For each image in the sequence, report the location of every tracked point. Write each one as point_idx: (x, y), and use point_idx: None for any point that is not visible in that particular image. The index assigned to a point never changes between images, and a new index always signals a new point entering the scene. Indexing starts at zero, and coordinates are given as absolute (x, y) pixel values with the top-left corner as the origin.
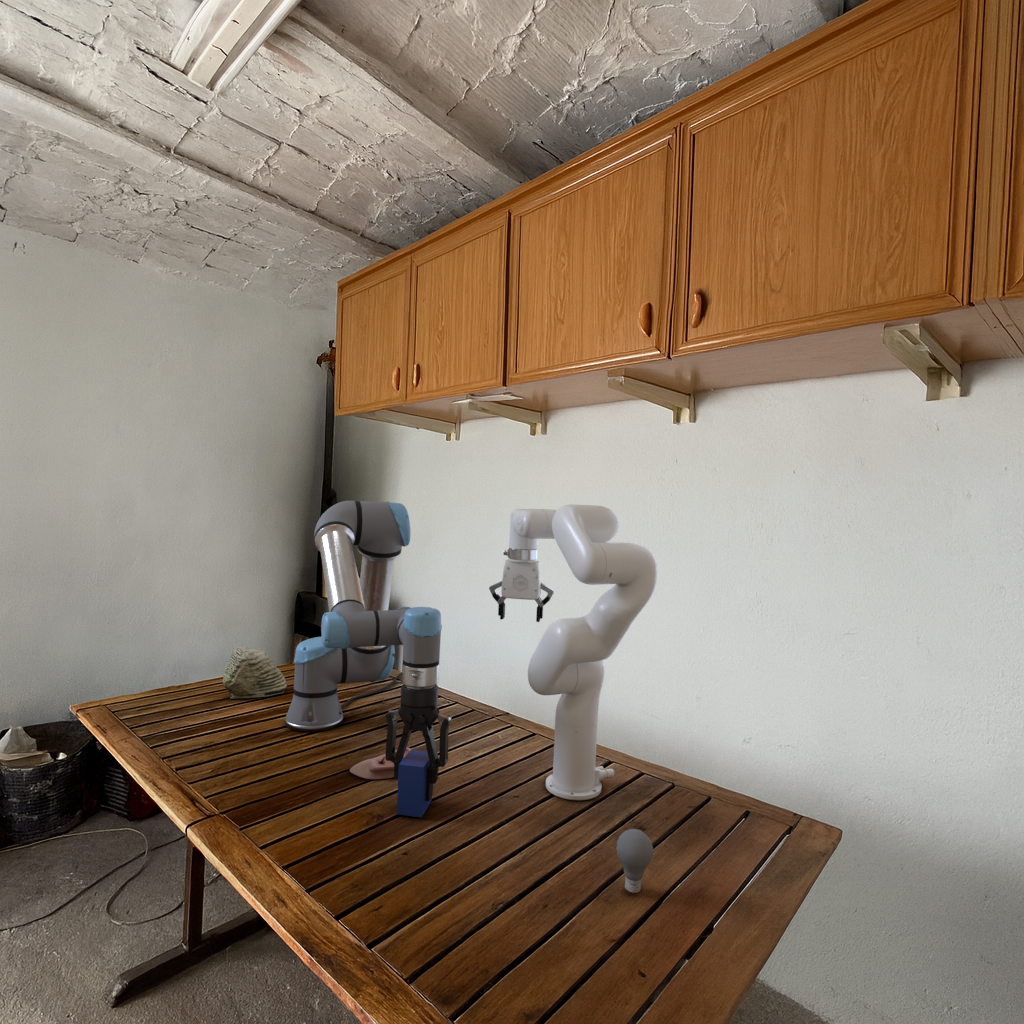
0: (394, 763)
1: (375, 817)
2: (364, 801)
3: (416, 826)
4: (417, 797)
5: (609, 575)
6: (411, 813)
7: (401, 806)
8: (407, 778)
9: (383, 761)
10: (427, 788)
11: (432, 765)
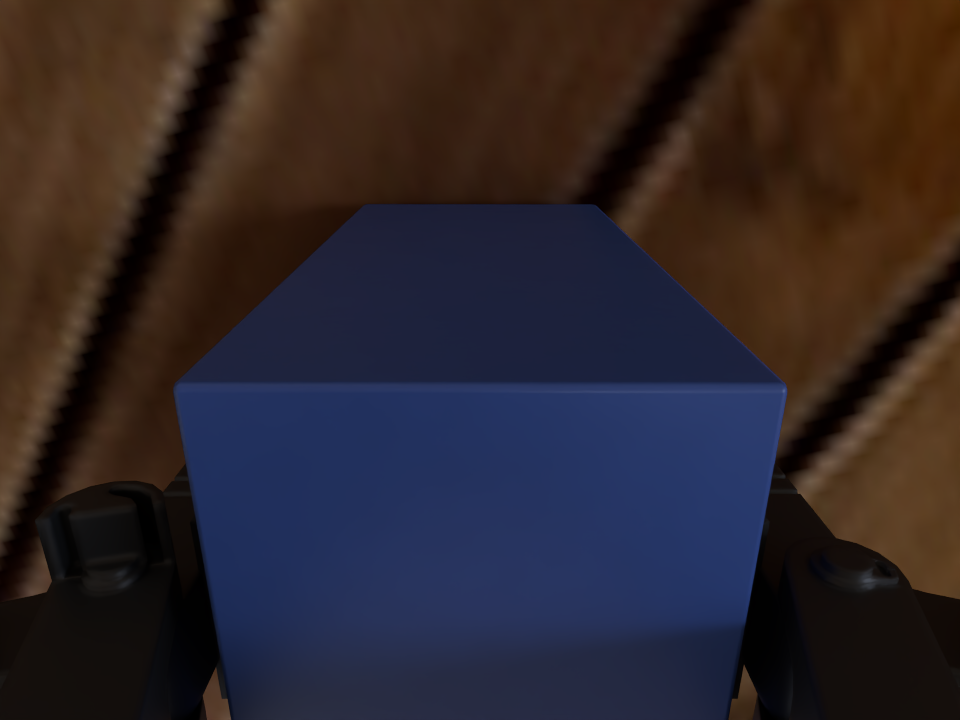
0: (865, 552)
1: (771, 144)
2: (917, 380)
3: (367, 77)
4: (386, 240)
5: None
6: (456, 207)
7: (561, 216)
8: (532, 295)
9: None
10: None
11: (121, 579)
